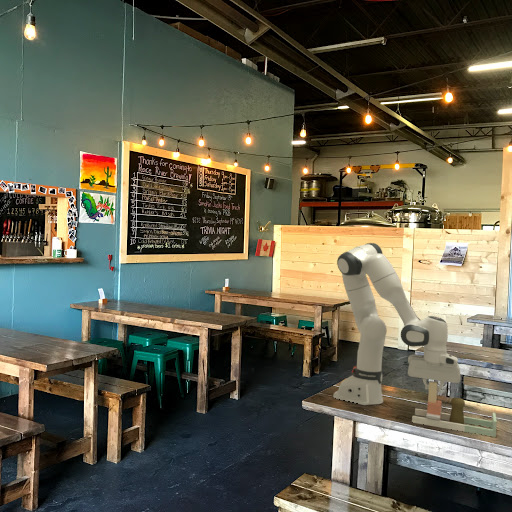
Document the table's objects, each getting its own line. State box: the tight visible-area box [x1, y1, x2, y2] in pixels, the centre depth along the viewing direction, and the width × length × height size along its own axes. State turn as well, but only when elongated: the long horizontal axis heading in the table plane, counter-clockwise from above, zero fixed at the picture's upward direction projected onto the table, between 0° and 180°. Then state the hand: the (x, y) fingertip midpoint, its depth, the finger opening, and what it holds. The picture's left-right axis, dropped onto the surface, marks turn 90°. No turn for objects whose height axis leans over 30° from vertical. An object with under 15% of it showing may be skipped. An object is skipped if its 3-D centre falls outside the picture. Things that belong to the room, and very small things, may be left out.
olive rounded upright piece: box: [448, 397, 466, 425], centre depth 200 cm, size 6×6×11 cm
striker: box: [425, 380, 443, 421], centre depth 204 cm, size 5×13×16 cm, turn 157°
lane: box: [411, 407, 498, 438], centre depth 201 cm, size 30×12×6 cm, turn 67°
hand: (432, 390), depth 204 cm, fingers open, 3 cm apart
